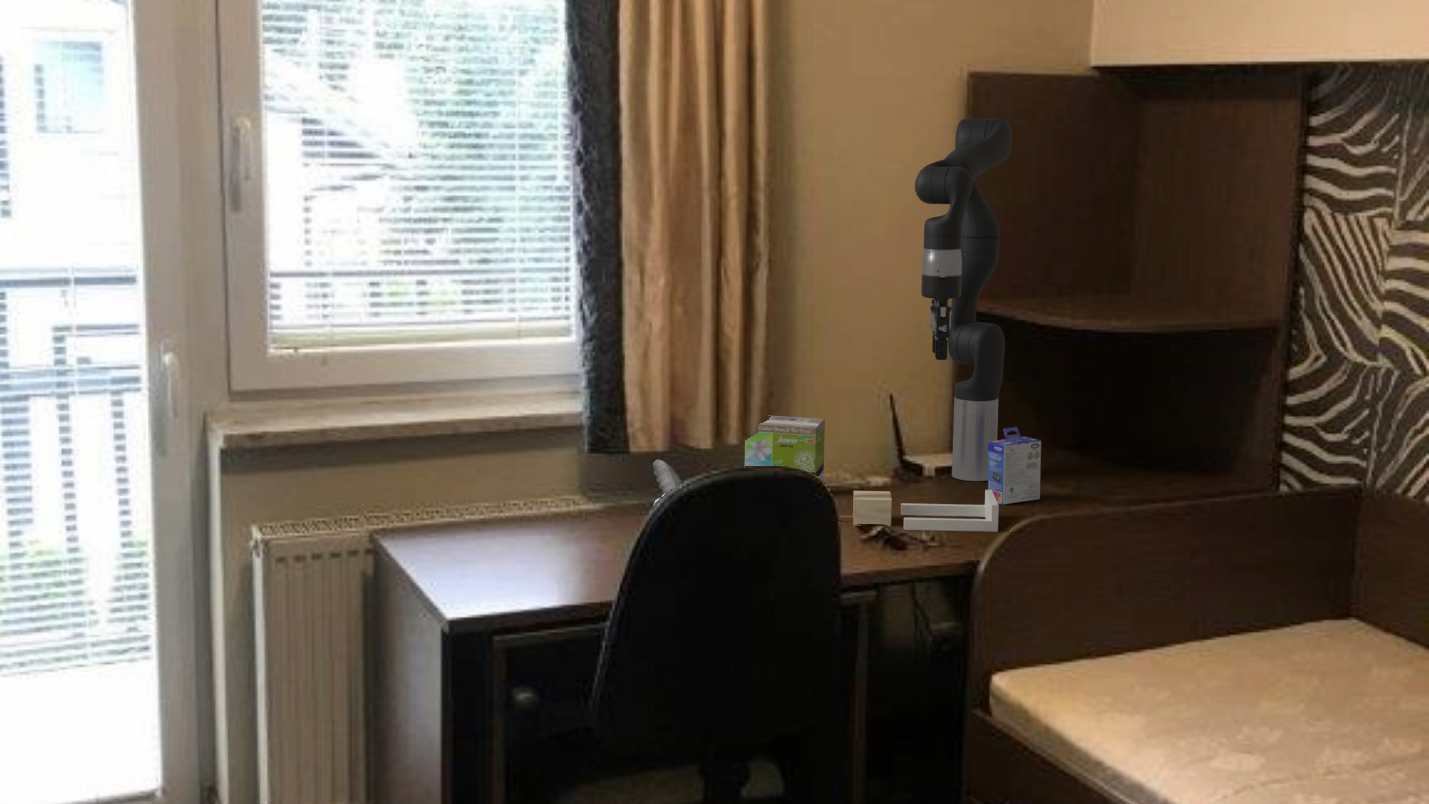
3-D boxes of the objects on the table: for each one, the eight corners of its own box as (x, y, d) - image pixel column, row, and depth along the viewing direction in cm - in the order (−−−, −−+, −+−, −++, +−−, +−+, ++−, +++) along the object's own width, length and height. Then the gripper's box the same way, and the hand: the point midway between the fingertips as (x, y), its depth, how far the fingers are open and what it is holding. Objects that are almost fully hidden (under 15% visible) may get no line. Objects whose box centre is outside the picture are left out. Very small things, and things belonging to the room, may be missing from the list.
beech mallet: (783, 514, 297) (783, 484, 296) (889, 517, 295) (890, 486, 294) (781, 523, 290) (782, 492, 289) (891, 526, 288) (891, 494, 287)
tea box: (743, 493, 315) (743, 422, 312) (753, 482, 324) (754, 413, 322) (816, 497, 311) (817, 425, 308) (824, 486, 321) (825, 416, 318)
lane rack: (900, 513, 298) (901, 488, 297) (990, 515, 297) (991, 489, 296) (903, 529, 286) (904, 503, 285) (997, 531, 285) (998, 505, 284)
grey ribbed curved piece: (659, 529, 286) (659, 476, 284) (628, 507, 302) (627, 457, 301) (705, 524, 289) (705, 472, 288) (672, 503, 306) (672, 454, 304)
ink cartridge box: (1022, 494, 314) (1025, 424, 312) (1041, 499, 309) (1044, 429, 307) (985, 500, 309) (987, 429, 307) (1003, 505, 305) (1005, 433, 302)
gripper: (919, 268, 302) (917, 351, 305) (924, 275, 288) (922, 361, 291) (958, 269, 301) (956, 351, 304) (964, 276, 287) (962, 362, 290)
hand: (939, 356), depth 298 cm, fingers open, 8 cm apart
